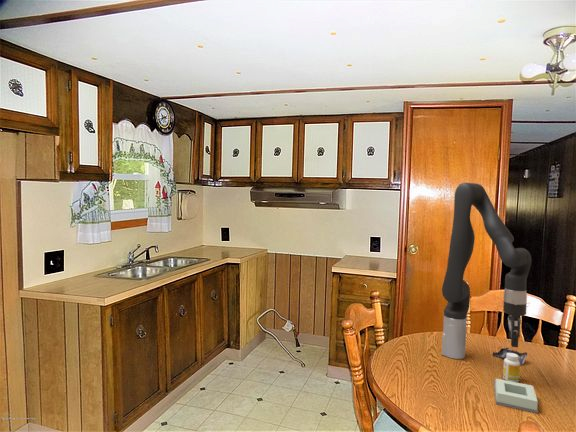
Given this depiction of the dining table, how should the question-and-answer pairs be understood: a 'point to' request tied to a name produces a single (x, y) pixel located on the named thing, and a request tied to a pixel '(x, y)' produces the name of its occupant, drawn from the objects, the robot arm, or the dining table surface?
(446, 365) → the dining table surface
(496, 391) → the socket board
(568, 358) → the dining table surface
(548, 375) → the dining table surface
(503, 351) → the snack package
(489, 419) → the dining table surface
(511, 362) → the supplement bottle
